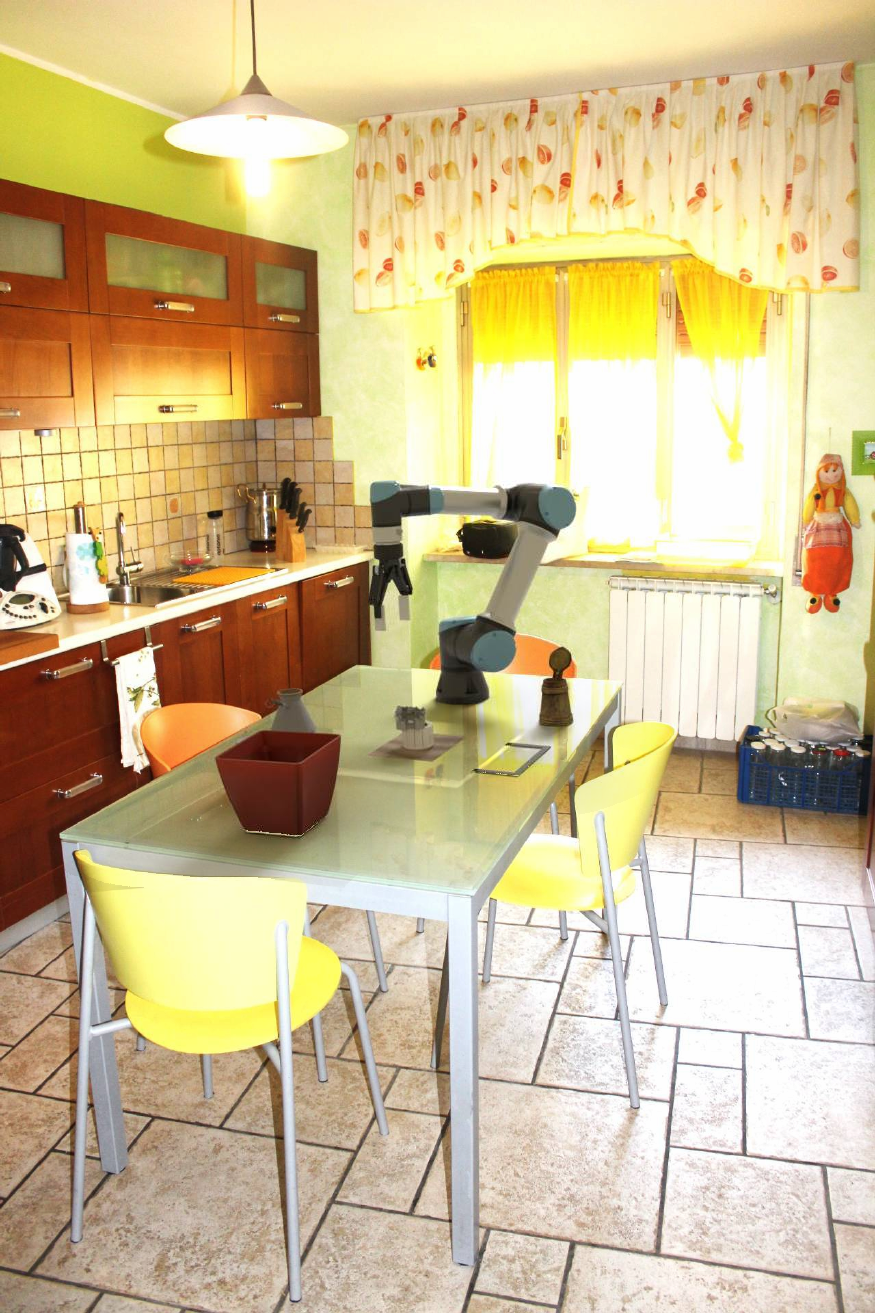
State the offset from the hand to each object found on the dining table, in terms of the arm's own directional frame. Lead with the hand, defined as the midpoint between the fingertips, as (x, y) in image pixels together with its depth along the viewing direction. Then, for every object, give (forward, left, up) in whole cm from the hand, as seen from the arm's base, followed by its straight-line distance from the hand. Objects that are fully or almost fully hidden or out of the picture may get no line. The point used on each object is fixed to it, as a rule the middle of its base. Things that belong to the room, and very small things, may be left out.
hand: (392, 625), depth 284 cm
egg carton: (+18, +13, -20) cm, 30 cm away
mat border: (+18, +35, -27) cm, 48 cm away
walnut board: (+18, +14, -27) cm, 35 cm away
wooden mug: (-16, +38, -27) cm, 50 cm away
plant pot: (+70, +10, -27) cm, 76 cm away
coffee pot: (+24, -19, -27) cm, 41 cm away
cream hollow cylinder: (+18, +14, -26) cm, 34 cm away
